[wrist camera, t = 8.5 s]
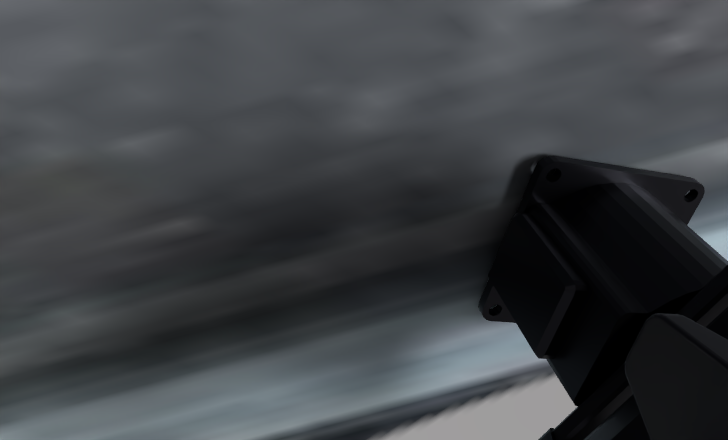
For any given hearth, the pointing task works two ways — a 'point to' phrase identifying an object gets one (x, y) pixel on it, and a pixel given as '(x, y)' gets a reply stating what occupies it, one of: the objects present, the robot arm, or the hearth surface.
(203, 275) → the hearth surface
